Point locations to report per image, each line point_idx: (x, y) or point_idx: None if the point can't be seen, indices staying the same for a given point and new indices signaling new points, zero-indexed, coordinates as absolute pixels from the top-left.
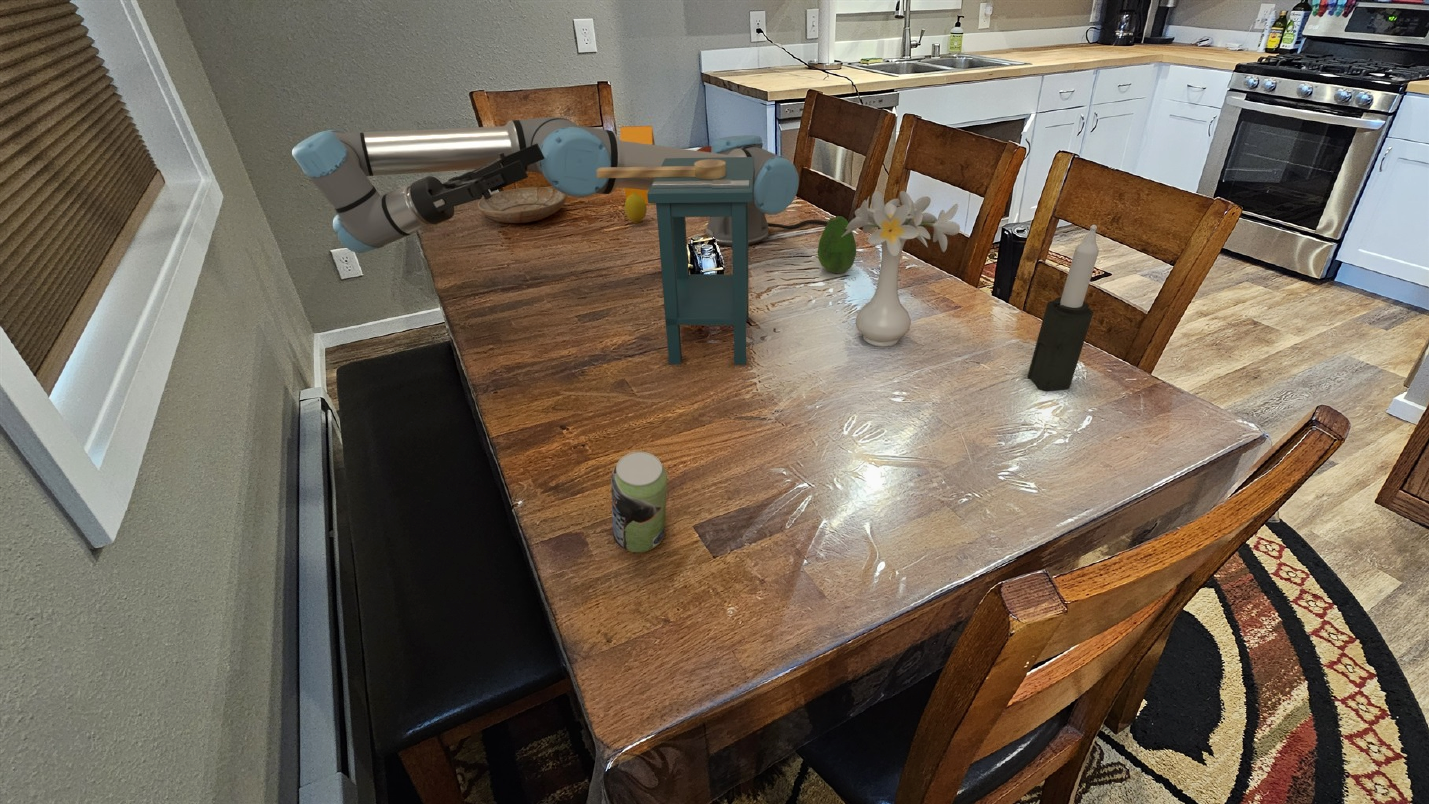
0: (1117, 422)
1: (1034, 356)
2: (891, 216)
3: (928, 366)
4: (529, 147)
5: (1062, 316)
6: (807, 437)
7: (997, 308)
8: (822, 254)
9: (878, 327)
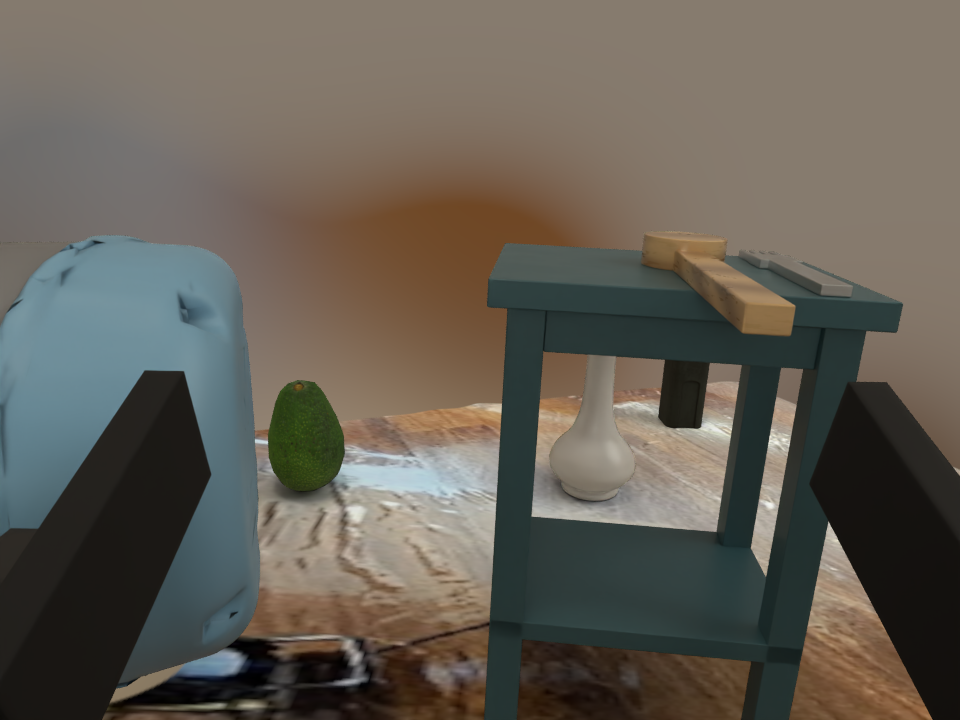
0: None
1: (679, 400)
2: None
3: (666, 471)
4: (158, 421)
5: None
6: None
7: (492, 409)
8: (320, 459)
9: (633, 460)
